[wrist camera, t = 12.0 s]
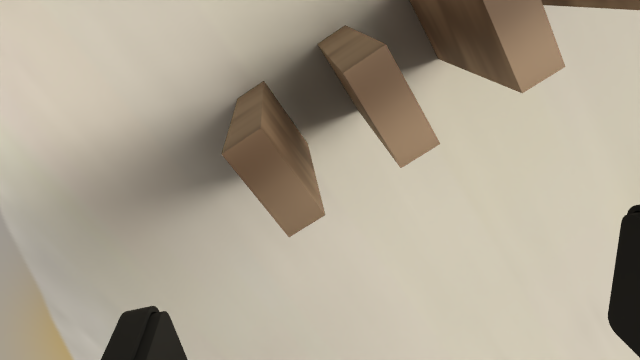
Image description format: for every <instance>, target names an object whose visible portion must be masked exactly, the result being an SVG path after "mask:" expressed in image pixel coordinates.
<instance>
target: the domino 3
mask: <svg viewBox="0 0 640 360" xmlns="http://www.w3.org/2000/svg"><path fill="white" fill-rule="evenodd" d="M409 1H410V3H411V5H412V7H413V9H414V11H415V13H416V15H417V17H418V19H419V21H420V23H421V25H422V27H423V29H424V31H425V33H426V35H427V37H428V39H429V41H430V43H431V45H432V47H433V49H434V51H435V53H436V55H437V57H438V59H440V60H442V61H445V62H447V63H450V64H452V65H455V66H457V67H460V68H462V69H464V70H467V71H469V72H472V73H474V74H477V75H479V76H482V77H484V78H486V79H489V80H491V81H494V82H496V83H499V84H501V85H503V86H506V87H508V88H511V89H513V90H516V91H518V92H521V93H523V92H525V91H527V90H528V89H530V88H532V87H533V86H535V85H536V84H538V83H540V82H541V81H543V80H544V79H546V78H548V77H549V76H551V75H553V74H554V73H556V72H557V71H559V70H561V69H562V68H564V67H565V64H564V62H563V59H562V56H561V53H560V51H559V48H558V45H557V42H556V40H555V37H554V34H553V31H552V29H551V26H550V23H549V21H548V18H547V15H546V12H545V10H544V7H543V4H542V1H541V0H409Z"/></svg>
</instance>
